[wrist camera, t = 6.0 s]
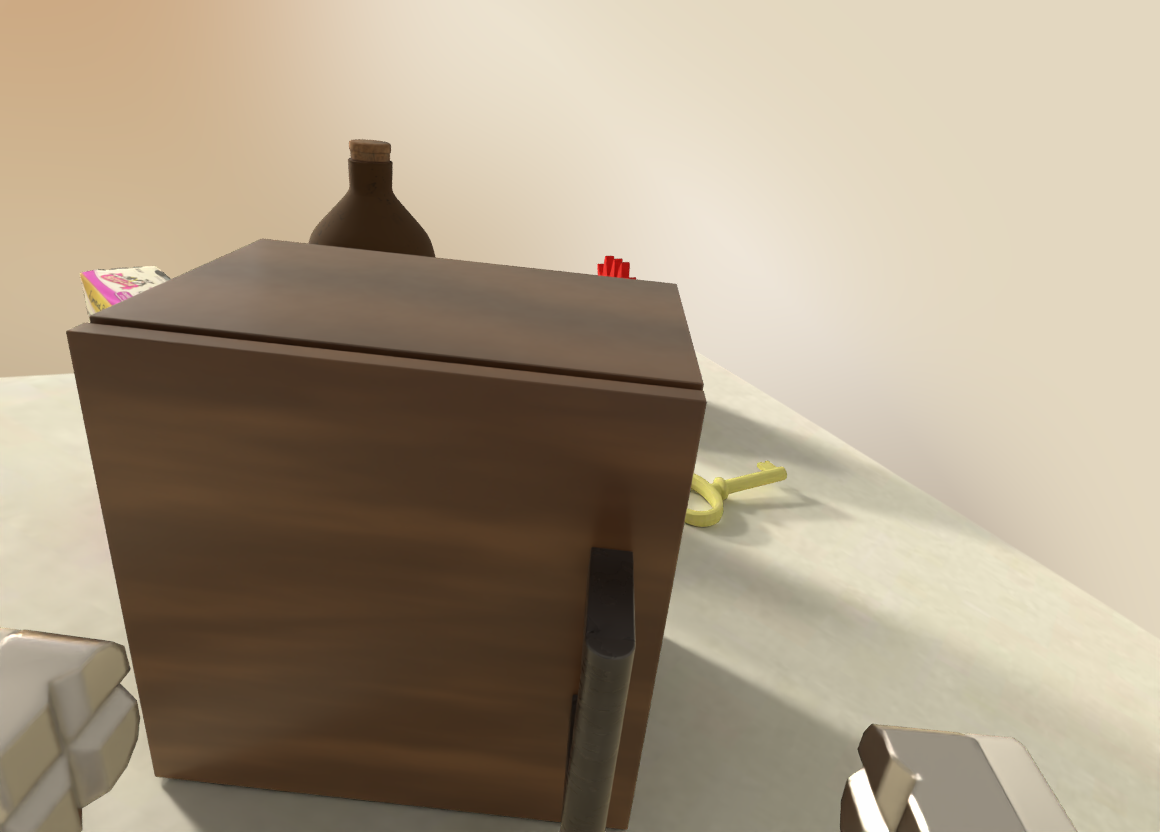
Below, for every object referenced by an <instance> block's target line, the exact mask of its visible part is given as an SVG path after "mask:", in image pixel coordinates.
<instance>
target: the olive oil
mask: <svg viewBox="0 0 1160 832" xmlns="http://www.w3.org/2000/svg"><path fill="white" fill-rule="evenodd" d="M349 149H350V152H351V158H349V159H348V165H349V183H350V187H349V190H348V192H347V193H346V195H345V196H344V197H343V198H342V199H341V200H340V201H339V202H338V204H337V205H336V206H335V207H334V208H333V209H332V210H331V211H330V212H329V213H328V214H327V215H326V216H325V217H324V218H323V219H322V221H321V222H320V223H319V224H318V225H317V226H316V228H315V229H314V231H313V233H312V234H311V237H310V240H309V243H308V244H316V245H325V246H334V247H343V248H352V249H361V250H371V251H380V252H389V253H398V254H407V255H416V256H425V257H434V258H435V254H434V250H433V246H432V243H431V241H430V239H429V237H428V235H427V233H426V232H425V231H424V229H423V228H422V227H421V226H420V224H419V223H418V222H417V221H416V220H415V219H414V218H413V216H412V215H411V214H410V213H409V212H408V211H407V210H406V209H405V207H404V206H403V205H402V204H401V203H400V201H399V200H398V199H397V198H396V197H395V195H394V193H393V191H392V161H390V153H391V145H390V144H389V143H387V142H383V141H376V140H360V139H359V140H351V141H349Z"/></svg>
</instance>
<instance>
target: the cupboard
mask: <svg viewBox="0 0 1160 832" xmlns="http://www.w3.org/2000/svg"><path fill="white" fill-rule="evenodd" d="M89 319H90V323H93V324H102V325H111V326H120V327H129V328H138V329H147V330H156V331H165V332H175V333H184V334H193V335H202V336H211V337H220V338H229V339H238V340H247V341H256V342H265V343H274V344H283V345H293V346H302V347H311V348H320V349H329V350H338V351H347V352H356V353H365V354H374V355H383V356H392V357H401V358H411V359H420V360H429V361H438V362H447V363H456V364H465V365H474V366H483V367H492V368H501V369H510V370H519V371H529V372H538V373H547V374H556V375H565V376H574V377H583V378H592V379H601V380H610V381H619V382H628V383H638V384H647V385H656V386H665V387H674V388H683V389H692V390H701V391H703V386H704V384H703V380H702V376H701V373H700V369H699V365H698V362H697V358H696V354H695V351H694V347H693V343H692V339H691V336H690V332H689V328H688V325H687V321H686V317H685V314H684V310H683V306H682V303H681V299H680V295H679V292H678V288H677V284H672V283H662V282H654V281H644V280H635V279H626V278H617V277H608V276H599V275H589V274H580V273H570V272H562V271H553V270H544V269H535V268H525V267H517V266H508V265H497V264H489V263H479V262H470V261H461V260H453V259H443V258H434V257H425V256H416V255H407V254H398V253H389V252H380V251H371V250H361V249H352V248H343V247H334V246H325V245H316V244H306V243H298V242H288V241H279V240H270V239H260V240H258V241H255V242H253V243H251V244H249V245H247V246H244V247H242V248H240V249H237V250H235V251H233V252H231V253H229V254H226V255H224V256H222V257H220V258H218V259H215V260H213V261H211V262H209V263H206V264H204V265H202V266H199V267H197V268H195V269H193V270H191V271H188V272H186V273H184V274H182V275H180V276H177V277H175V278H173V279H170V280H168V281H166V282H164V283H162V284H159V285H157V286H155V287H153V288H150V289H148V290H146V291H144V292H141V293H139V294H137V295H135V296H133V297H130V298H128V299H126V300H124V301H121V302H119V303H117V304H115V305H112V306H110V307H108V308H106V309H104V310H101V311H99V312H97V313H95V314H92V315H90V316H89Z"/></svg>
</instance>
